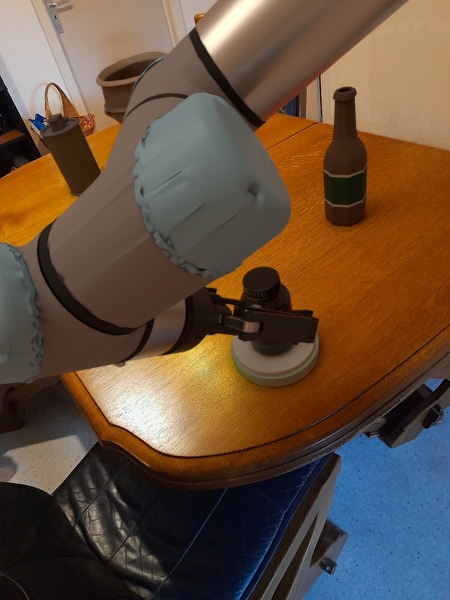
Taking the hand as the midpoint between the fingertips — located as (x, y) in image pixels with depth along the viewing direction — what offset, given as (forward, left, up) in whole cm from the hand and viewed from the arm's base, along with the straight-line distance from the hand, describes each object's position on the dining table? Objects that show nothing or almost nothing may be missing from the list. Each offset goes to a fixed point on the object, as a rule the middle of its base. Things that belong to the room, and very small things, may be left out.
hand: (257, 308), depth 52 cm
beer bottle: (-6, -37, -12) cm, 40 cm away
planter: (+58, -80, -12) cm, 99 cm away
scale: (0, -2, -11) cm, 12 cm away
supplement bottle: (0, -2, -9) cm, 9 cm away
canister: (+67, -51, -12) cm, 85 cm away
